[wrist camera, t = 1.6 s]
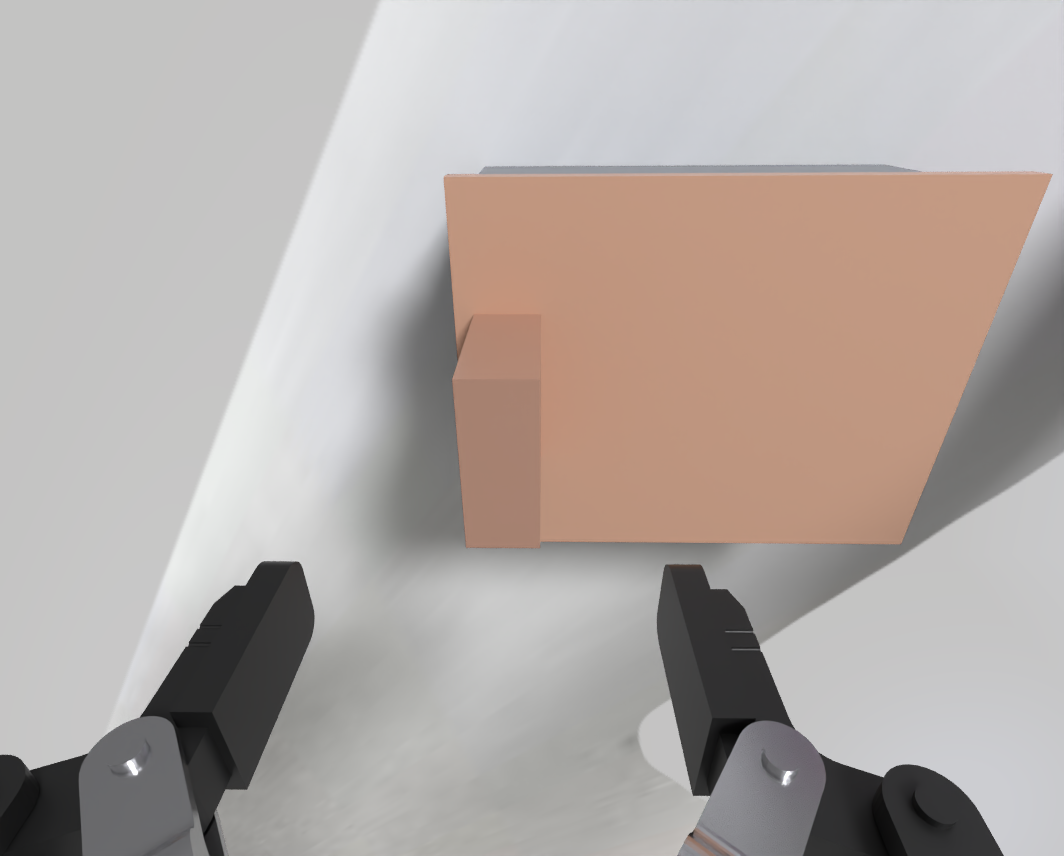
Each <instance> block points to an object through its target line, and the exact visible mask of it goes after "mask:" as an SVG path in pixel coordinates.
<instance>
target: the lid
mask: <svg viewBox="0 0 1064 856" xmlns="http://www.w3.org/2000/svg"><path fill="white" fill-rule="evenodd" d="M1051 177H1052V174H1048V173H1041V172H1034V171H1031V172H820V173H609V174H447V175H446V176H444V188H445V201H446V214H447V228H448V241H449V254H450V267H451V280H452V293H453V306H454V319H455V332H456V345H457V358H458V363H457V366H456V369H455V372H454V375H453V378H452V384H453V396H454V408H455V420H456V432H457V444H458V456H459V468H460V480H461V492H462V504H463V516H464V529H465V541H466V548H540V542H670V543H802V544H901V543H902V540H903V538H904V536H905V533H906V531H907V528H908V526H909V523H910V521H911V519H912V516H913V514H914V511H915V509H916V506H917V504H918V501H919V499H920V497H921V494H922V492H923V489H924V487H925V484H926V482H927V479H928V477H929V475H930V472H931V470H932V467H933V465H934V462H935V460H936V458H937V455H938V453H939V450H940V448H941V445H942V443H943V440H944V438H945V436H946V433H947V431H948V428H949V426H950V423H951V421H952V418H953V416H954V414H955V411H956V409H957V406H958V404H959V401H960V399H961V397H962V394H963V392H964V389H965V387H966V384H967V382H968V379H969V377H970V375H971V372H972V370H973V367H974V365H975V362H976V360H977V357H978V355H979V353H980V350H981V348H982V345H983V343H984V340H985V338H986V336H987V333H988V331H989V328H990V326H991V323H992V321H993V318H994V316H995V314H996V311H997V309H998V306H999V304H1000V301H1001V299H1002V296H1003V294H1004V292H1005V289H1006V287H1007V284H1008V282H1009V279H1010V277H1011V275H1012V272H1013V270H1014V267H1015V265H1016V262H1017V260H1018V257H1019V255H1020V253H1021V250H1022V248H1023V245H1024V243H1025V240H1026V238H1027V235H1028V233H1029V231H1030V228H1031V226H1032V223H1033V221H1034V218H1035V216H1036V214H1037V211H1038V209H1039V206H1040V204H1041V201H1042V199H1043V196H1044V194H1045V192H1046V189H1047V187H1048V184H1049V182H1050V179H1051Z"/></svg>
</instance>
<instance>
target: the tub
mask: <svg viewBox="0 0 1064 856" xmlns="http://www.w3.org/2000/svg"><path fill="white" fill-rule="evenodd" d="M820 172H921V171H916V170H910V169H905V168H899V167H894V166H889V165H749V166H548V167H484V168H483V170H482V171H481V172H480V173H479V174H609V173H820Z"/></svg>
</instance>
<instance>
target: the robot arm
mask: <svg viewBox="0 0 1064 856" xmlns="http://www.w3.org/2000/svg"><path fill="white" fill-rule="evenodd" d="M313 628H314V609H313V605H312V601H311V598H310V594H309V590H308V587H307V583H306V579H305V576H304V572H303V568H302V566H301V564H300V563H299V562H287V561H264V562H261V563H260V564H259V565H258V566H257V568H256V569H255V571H254V573H253V574H252V576H251V578H250V579H249V581H248V583H247V584H246V586H234V587H233V588H232V589H231V590H229V591H228V592H227V593H226V594H225V595H223V596H222V597H221V598H220V599H219V600H218V601H216V602H215V603H214V604H213V606H212V607H211V609H210V610H209V612H208V613H207V615H206V617H205V618H204V620H203V621H202V623H201V624H200V629H197V630H196V632H195V634H194V635H193V637H192V638H191V640H190V641H189V646H188V647H185V649H184V651H183V652H182V654H181V655H180V657H179V658H178V660H177V661H176V663H175V664H174V666H173V668H172V669H171V671H170V672H169V674H168V675H167V677H166V678H165V680H164V681H163V683H162V685H161V686H160V688H159V689H158V691H157V692H156V694H155V695H154V697H153V698H152V700H151V702H150V703H149V705H148V706H147V708H146V709H145V711H144V712H143V714H142V715H141V716H140V718H137V719H134V720H131V721H129V722H126V723H124V724H122V725H120V726H119V727H117V728H115V729H114V730H112V731H111V732H109V733H108V734H107V735H105V736H104V737H103V738H102V739H101V740H100V741H99V742H98V743H97V744H96V745H95V746H94V747H93V748H92V749H91V751H90V752H89V753H88V754H85V755H82V756H79V757H75V758H72V759H68V760H65V761H61V762H58V763H54V764H51V765H47V766H44V767H40V768H37V769H33V770H30V771H29V769H28V768H27V767H26V765H25V764H24V763H23V762H22V760H21V759H19V758H18V757H16V756H12V755H0V856H229V855H228V851H227V847H226V843H225V839H224V835H223V831H222V827H221V823H220V819H219V815H218V812H217V810H216V808H217V806H218V804H219V802H220V800H221V797H222V795H223V793H224V791H225V789H244V790H247V789H248V786H249V784H250V782H251V779H252V777H253V774H254V772H255V770H256V767H257V765H258V763H259V760H260V758H261V756H262V753H263V751H264V748H265V746H266V744H267V741H268V739H269V737H270V734H271V732H272V730H273V727H274V725H275V722H276V720H277V718H278V715H279V713H280V711H281V708H282V706H283V704H284V701H285V699H286V697H287V694H288V692H289V689H290V687H291V685H292V682H293V680H294V678H295V675H296V673H297V671H298V668H299V666H300V663H301V661H302V659H303V656H304V654H305V652H306V649H307V647H308V645H309V642H310V640H311V637H312V633H313ZM657 633H658V640H659V646H660V650H661V655H662V659H663V663H664V668H665V672H666V677H667V681H668V686H669V690H670V695H671V699H672V704H673V708H674V713H675V717H676V722H677V726H678V731H679V735H680V740H681V744H682V749H683V753H684V758H685V762H686V767H687V771H688V776H689V780H690V785H691V789H692V794H693V796H710V798H709V800H708V802H707V804H706V806H705V809H704V811H703V813H702V815H701V817H700V819H699V821H698V823H697V825H696V827H695V829H694V831H693V832H692V833H690V834H689V835H688V837H687V838H686V840H685V842H684V844H683V845H682V847H681V849H680V851H679V853H678V855H677V856H1004V855H1003V854H1002V852H1001V850H1000V848H999V846H998V845H997V843H996V841H995V839H994V837H993V836H992V834H991V832H990V830H989V829H988V827H987V825H986V823H985V822H984V820H983V818H982V816H981V814H980V813H979V811H978V810H977V808H976V806H975V805H974V804H973V802H972V801H971V800H970V799H969V798H968V796H967V795H966V794H965V793H964V792H963V791H962V790H961V789H960V788H959V787H957V786H956V785H955V784H954V783H952V782H951V781H950V780H948V779H947V778H945V777H944V776H942V775H940V774H938V773H936V772H935V771H932V770H930V769H927V768H924V767H921V766H917V765H899V766H896V767H894V768H892V769H890V770H889V771H888V772H887V773H886V775H885V776H884V778H883V777H880V776H877V775H874V774H871V773H867V772H864V771H861V770H858V769H855V768H852V767H849V766H846V765H843V764H840V763H838V762H835V761H832V760H831V759H829V758H827V757H825V756H823V755H822V754H820V753H818V751H817V750H816V749H815V747H814V746H813V745H812V744H811V742H810V741H809V740H808V739H807V738H806V737H804V736H803V735H802V734H801V733H799V732H798V731H796V730H795V728H794V727H793V725H792V724H791V721H790V719H789V717H788V715H787V712H786V710H785V707H784V705H783V702H782V700H781V697H780V695H779V693H778V690H777V688H776V685H775V683H774V680H773V678H772V675H771V673H770V670H769V668H768V666H767V663H766V660H765V658H764V656H763V653H762V652H761V651H760V646H759V643H758V641H757V638H756V636H755V634H753V628H752V626H751V624H750V621H749V619H748V616H747V614H746V611H745V609H744V607H743V606H742V605H741V604H740V603H739V602H738V601H737V600H736V599H735V598H734V597H733V595H732V594H731V593H730V592H729V591H728V590H727V589H710V586H709V584H708V581H707V578H706V575H705V572H704V570H703V568H702V566H701V565H665V568H664V572H663V579H662V585H661V592H660V599H659V605H658V612H657Z"/></svg>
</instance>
